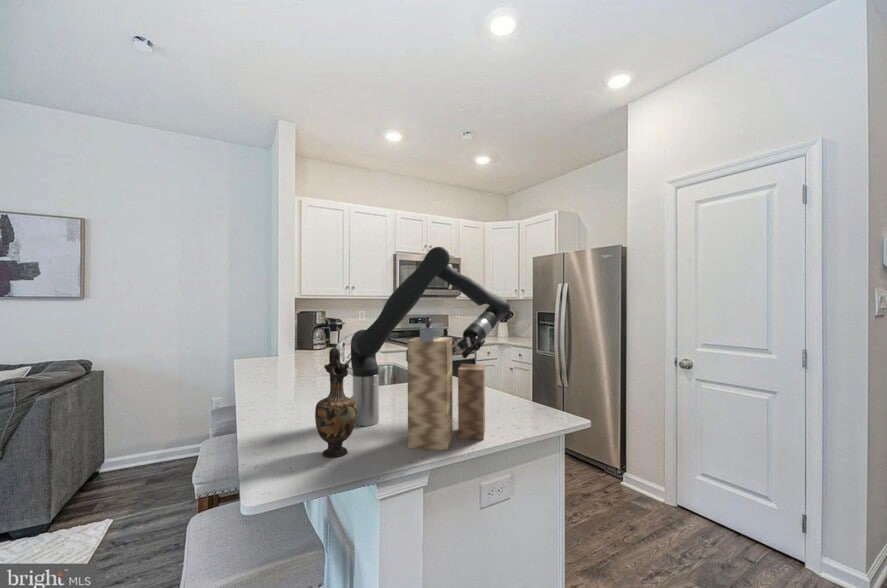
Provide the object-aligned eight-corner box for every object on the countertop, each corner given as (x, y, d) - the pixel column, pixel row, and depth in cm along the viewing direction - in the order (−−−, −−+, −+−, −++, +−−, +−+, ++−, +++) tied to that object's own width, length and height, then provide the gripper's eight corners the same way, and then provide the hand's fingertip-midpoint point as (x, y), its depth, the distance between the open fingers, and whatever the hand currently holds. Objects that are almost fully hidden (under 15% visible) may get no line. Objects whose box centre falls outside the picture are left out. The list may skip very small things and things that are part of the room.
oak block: (407, 448, 115) (407, 340, 115) (416, 434, 126) (415, 337, 126) (447, 450, 113) (447, 341, 113) (452, 436, 124) (452, 337, 124)
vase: (317, 464, 104) (317, 353, 104) (313, 447, 115) (313, 347, 116) (360, 456, 109) (360, 350, 109) (352, 441, 120) (352, 345, 120)
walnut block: (458, 438, 123) (458, 369, 123) (461, 427, 132) (461, 363, 133) (483, 439, 121) (483, 369, 122) (485, 428, 131) (484, 364, 131)
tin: (419, 341, 114) (419, 319, 114) (432, 334, 133) (432, 316, 133) (433, 341, 113) (433, 319, 113) (443, 335, 133) (443, 316, 133)
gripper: (459, 325, 147) (435, 349, 136) (488, 320, 137) (464, 345, 126) (467, 342, 149) (444, 367, 138) (496, 338, 139) (474, 364, 128)
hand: (454, 356), depth 132 cm, fingers open, 8 cm apart
